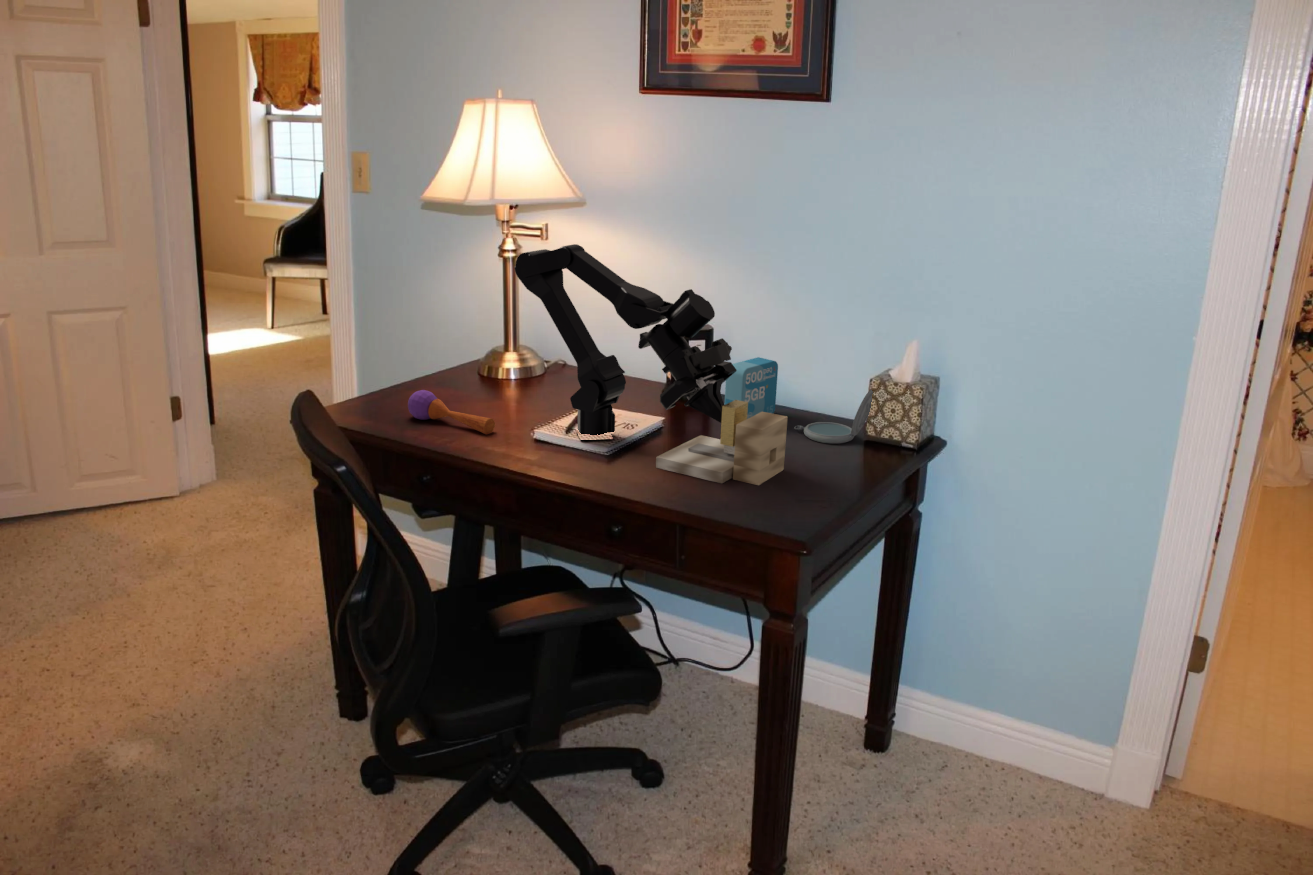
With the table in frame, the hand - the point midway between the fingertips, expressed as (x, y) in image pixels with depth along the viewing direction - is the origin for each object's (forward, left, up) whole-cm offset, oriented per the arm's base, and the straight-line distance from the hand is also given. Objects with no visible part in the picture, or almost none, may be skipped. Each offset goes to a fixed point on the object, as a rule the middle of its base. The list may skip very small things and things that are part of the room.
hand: (726, 422), depth 190 cm
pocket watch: (+26, +14, -9) cm, 31 cm away
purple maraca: (-47, +31, -9) cm, 57 cm away
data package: (+14, +28, -9) cm, 33 cm away
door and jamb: (0, 0, -8) cm, 8 cm away
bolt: (+3, -3, -5) cm, 7 cm away
